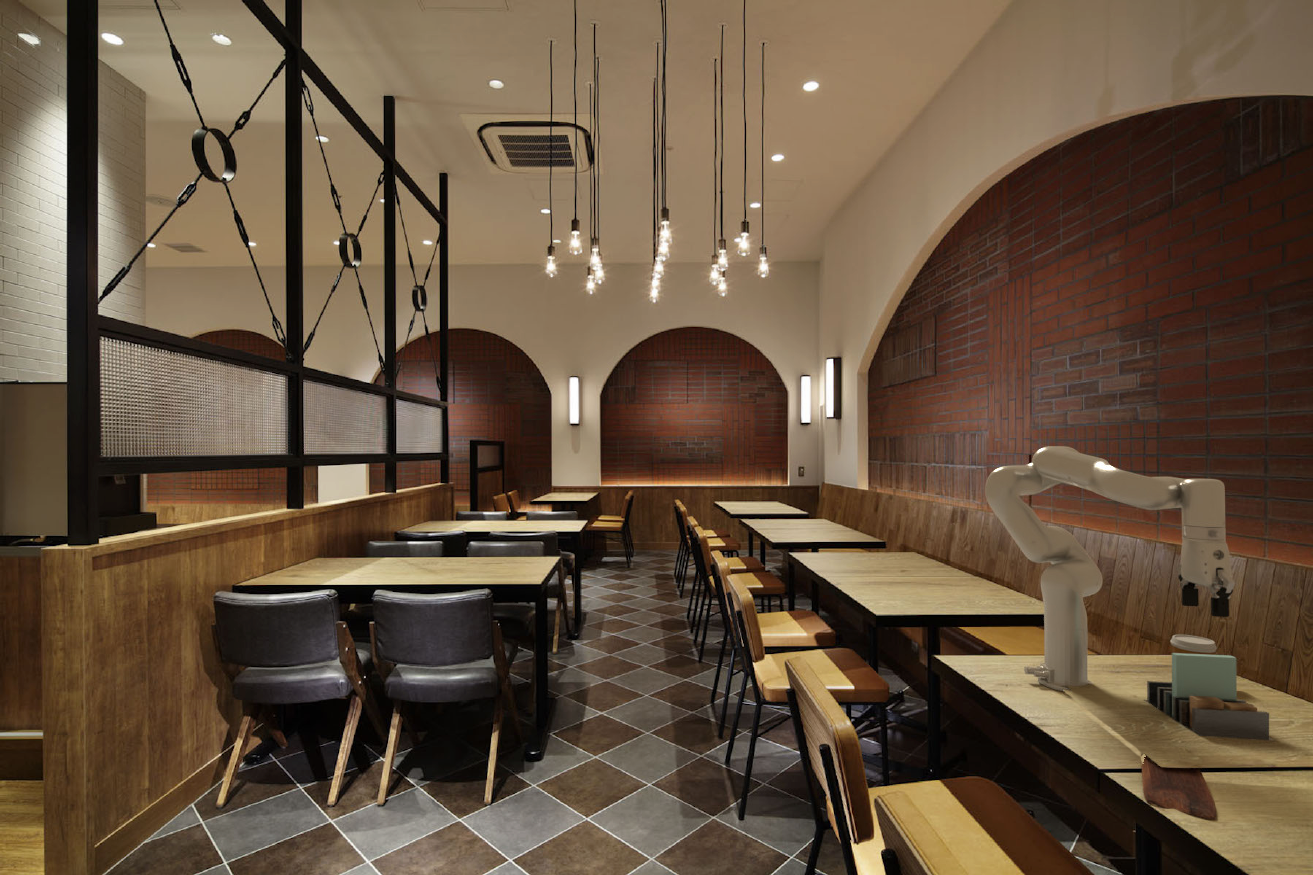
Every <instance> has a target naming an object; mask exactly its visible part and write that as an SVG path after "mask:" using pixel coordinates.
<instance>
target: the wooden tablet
mask: <svg viewBox="0 0 1313 875" xmlns="http://www.w3.org/2000/svg"><path fill="white" fill-rule="evenodd" d="M1145 755H1146V754H1145ZM1144 758H1145V759H1144V762H1143V763H1144V764H1142V765H1141V781H1142V791H1143V796H1144V799H1145V801H1146V803H1147V804H1148V805H1150V806H1153V807H1158V808H1161V809H1167V810H1176V811H1178V812H1180V813H1183V814H1184V815H1188V816H1191V817H1195V818H1199V819H1204V820H1208V821H1214V820H1215V819H1216V818H1217V809H1216V805H1215V802H1214V799H1213V796H1212V793H1211V791H1210V788H1209V786H1208V784H1207V781H1206V779H1205V777H1204V776H1203V773H1202V771H1201V769H1196V768H1195V769H1194V768H1183V767H1182V768H1181V767H1180V768H1179V767H1165V766H1160V765H1159V764H1158V763H1157V762H1156V761H1154V760H1153V759H1151V757H1149V756H1148V755H1146V757H1144Z"/></svg>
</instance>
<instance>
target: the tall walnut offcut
mask: <svg viewBox="0 0 1313 875" xmlns="http://www.w3.org/2000/svg"><path fill="white" fill-rule="evenodd" d="M1192 708H1208V709H1223V701H1222V700H1220V699H1218V698H1216V697H1206V696H1190V726H1191V727H1192Z"/></svg>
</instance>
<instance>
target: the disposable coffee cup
mask: <svg viewBox="0 0 1313 875" xmlns="http://www.w3.org/2000/svg"><path fill="white" fill-rule="evenodd" d="M1170 644H1171V646H1172V650H1173V652H1172V653H1184V654H1206V655H1216V654H1215V653H1216V652H1217V650H1218V646H1216V642H1215V641H1214V640H1212V639H1210V638H1206V637H1202V636H1196V635H1192V634H1191V635H1189V634H1174V635H1172V637H1171V639H1170Z"/></svg>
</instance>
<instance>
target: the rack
mask: <svg viewBox="0 0 1313 875" xmlns="http://www.w3.org/2000/svg"><path fill="white" fill-rule="evenodd" d="M1146 682H1147V683H1146V684H1147V686H1146V687H1147V690H1146V692H1147V699H1143V701H1144V702H1147V703H1148V704H1149V705H1150V706H1152V707H1153V708H1156V709H1157V710H1158V711H1160V712H1161V713H1163V714H1164V715H1166V716H1168V717H1169V718H1171V719H1172V720H1174V721H1175V722H1177V723H1178V724H1180V725H1182V726H1183V727H1185V728H1187V730H1189V731H1191V732H1192V733H1194V734H1195V735H1197V736H1198V737H1207V738H1209V737H1211V738H1223V739H1224V738H1227V739H1241V740H1242V739H1243V740H1258V741H1259V740H1260V741H1275V739H1274V738H1271V737H1270V713H1269V712H1268V711H1259V710H1257V711H1244V710H1226V709H1208V708H1192V727H1191V726H1190V697H1177V696H1173V716H1172V681H1157V680H1156V681H1153V680H1147V681H1146ZM1220 700H1222V701H1223V702H1231V703H1247V701H1246V700H1244V699H1237V700H1233V699H1220ZM1249 704H1250V705H1252V706H1254V705H1253V704H1252V703H1249Z"/></svg>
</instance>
